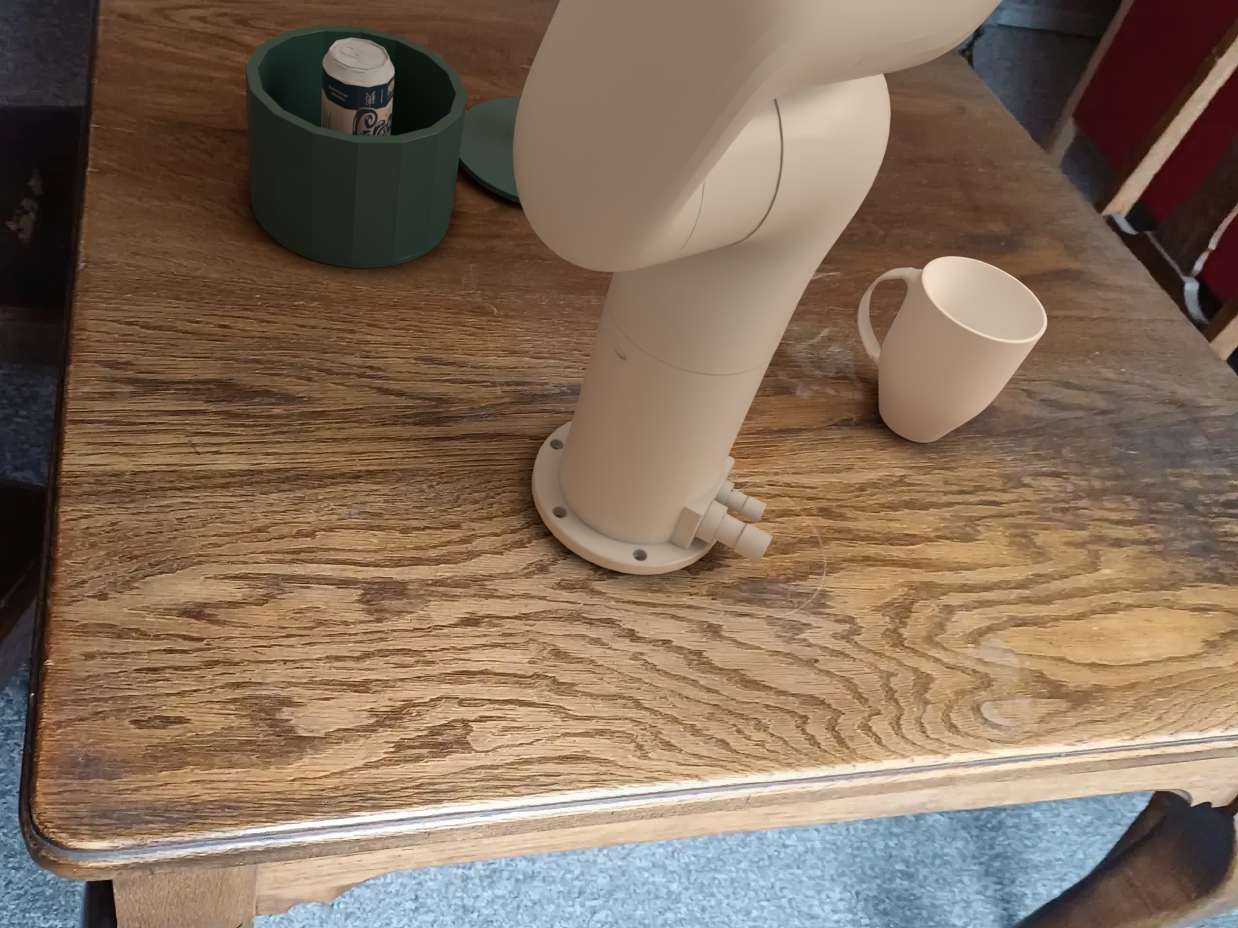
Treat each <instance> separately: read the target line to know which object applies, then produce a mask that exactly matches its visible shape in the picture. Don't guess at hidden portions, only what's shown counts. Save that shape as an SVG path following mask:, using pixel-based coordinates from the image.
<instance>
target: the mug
mask: <svg viewBox="0 0 1238 928" xmlns="http://www.w3.org/2000/svg"><path fill="white" fill-rule="evenodd" d="M899 279H902V280H903V281H904V282H905V284H906V286H907V287H906V288H907V291H906V294H905V297H904V300H903V302H902V304H901V306H900V308H899V310H898V311H897V313H896V314H897V315H896V316H895V318H894V320H893V322H892V323H891V326H890V327H889V329H888V332H887V334H886V335H885V338H884V340H883V343H882V345H880V343H879V341H878V340H877V337H876V335H875V333H874V330H873V327H872V323H871V320H870V302H871V296H872V293H873V292H874V289H875V288H876V286H877V285H878V284H879V283H880V282H882V281H886V280H899ZM858 306H859V307H858V309H857V330H858V335H859V338H860V341H861V343H862V346H863V348H864V350H865V353H866V354H867V357H868V358H869V359H870V360H872V361H873V362H874V364H875V365H876V366H877V368H878V369H877V370H878V371H877V374H878V412H879V415H880V417H881V419H882V421H883V422H884V423H885V425H886V426H887V427H888V428H889V429H890V430H891V431H893V432H894V433H895V434H896V435H899V437H902V438H904V439H906V440H909V441H911V442H915V443H923V444H928V443H929V444H930V443H933V442H935V441H938V440H939V439H941V438H942V437H944V436H945V435H947V434H949V433H950V432H952V431H953V430H955V429H957V428H959V427H960V426H962V425H964V424H966V423H967V422H968V421H970V420H972V419H973V418H975V417H977V416H978V415H979V414H981V413H982V412H983V411H984V410H985V409H987V408H988V406H989V405H990V404H991V403H992V402H993V401H994V400H995V399H996V397H998V395H999V394H1000V392H1001V391H1002V390H1003V389H1004V388H1005V386H1006V385H1007V384H1008V382H1009V381H1010V380H1011V378H1013V375H1014V374H1015V373H1016V372H1017V370H1018V369H1019V368H1020V366H1021V365H1022V363H1024V360H1025V359H1026V358H1027V357H1028V355H1029V353H1030V352H1032V350H1033V348H1034V347H1035V346H1036V344H1037V343H1038V341H1039V340H1040V339H1041V338H1042V336H1043V335H1044V333H1045V332H1046V330H1047V326H1048V317H1047V314H1046V310H1045V308H1044V306H1043V304H1042V303H1041V301H1040V300H1039V298H1038V297H1037V296H1036V295H1035V294H1034V293H1033V291H1032V290H1031V289H1030V288H1028V287H1027V286H1026V285H1025V284H1024V283H1022V282H1021V281H1020V280H1018V279H1017V278H1016V277H1014V276H1013V275H1011V274H1010V273H1008V272H1006V271H1004V270H1002V269H1000V268H998V267H997V266H994V265H992V264H990V263H987V262H985V261H982V260H978V259H974V258H971V257H965V256H956V255H955V256H954V255H953V256H952V255H949V256H942V257H941V256H940V257H938V258H934V259H933V260H931V261H929V262H928V263H927V264H926V265H925V266H924V267H923V268H914V267H912V266H910V267H897V268H893V269H889V270H888V271H885V272H884V273H883V274H881V275H880V276H879V277H878V278H876V279H875V280H874V281H873V282H872V283H871V284H870V285H869V287H868V288H867V289H866V291H865V292H864V294H863V295H862V296H861V299H860V302H859V305H858Z"/></svg>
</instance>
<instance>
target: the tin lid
mask: <svg viewBox="0 0 1238 928" xmlns="http://www.w3.org/2000/svg"><path fill="white" fill-rule="evenodd" d="M520 99H521V96H507V97H499V98H493V99H488V100H485V101H482V102H479V103H477V104H475V105H473V106H471V107H469V108H468V109H465V117H464V125H463V132H462V140H461V148H460V155H459V163H458V165H460V166H461V168H462V169H463V171H464V172H466V174H467V175H468V176H469V177H470V178H471V179H473V180H474V181H475V182H477V184H479V185H480V186H481V187H484V188H485V189H487V190H489V191H490V192H492V193H494V194H496V195H498V196H500V197H501V198H504V199H506V200H508V201H512V202H513V203H517V204H520V205H521V202H520V199H519V196H518V192H517V188H516V183H515V175H514V164H513V139H514V129H515V122H516V116H517V111H518V107H519V103H520Z"/></svg>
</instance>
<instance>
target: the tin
mask: <svg viewBox="0 0 1238 928" xmlns="http://www.w3.org/2000/svg"><path fill="white" fill-rule="evenodd" d="M347 38H358V39H364V40H370V41H372V42H374V43H376V44H378V45H380V46H382V47H384V48H385V50H386V52H387V54H388V56H389V58H390V61H391V63H392V65H393V67H394V71H395V76H394V90H393V103H392V117H391V130H390V136H381V135H352V134H348V133H343V132H339V131H335V130H330V129H326V128H321V110H322V62H323V58H324V57H325V55H326V54H327V53H328V51H329V48H330V47H331V46H332V45H333V44H334V42H335V41H337V40H342V39H347ZM244 68H245V71H244V72H245V73H244V74H245V94H246V95H245V96H246V97H245V99H246V100H245V101H246V122H247V123H246V124H247V126H246V127H247V150H248V151H247V152H248V153H247V154H248V177H249V182H248V183H249V193H250V197H251V207H252V211H253V214H254V216H255V219H256V220H257V222H258V224H259V225H260V226H261V228H262V229H263V230H264V232H266V234H268V235H269V236H270V237H271V239H273V240H274V241H276V242H277V243H278V244H279V245H281V246H282V247H284V248H286V249H288V250H289V251H291V252H293V253H295V254H297V255H299V256H302V257H304V258H307V259H309V260H311V261H315V262H318V263H323V264H327V265H331V266H335V267H336V266H337V267H343V268H351V269H379V268H386V267H387V268H388V267H392V266H393V267H394V266H397V265H402V264H405V263H409V262H411V261H413V260H416V259H418V258H420V257H422V256H424V255H426V254H428V253H429V252H430V251H432V250H433V249H434V248H436V247H437V245H439V244H440V242H441V241H443V238H444V237H445V236H446V234H447V232H448V229H449V226H450V222H451V221H450V220H451V217H452V213H453V210H454V209H453V208H454V200H455V193H456V185H457V179H458V172H459V171H458V170H459V155H460V148H461V140H462V132H463V125H464V117H465V111H466V110H467V101H468V94H467V91H466V89H465V86H464V83H463V81H462V79H461V77H460V75H459V72H458V71H457V70H456V69H454V67H452V66H451V65H450V64H448V63H447V62H446V60H444V59H443V58H442V57H440V56H439V55H438V54H437V53H436V52H435V51H433V50H432V49H430V48H428V47H425V46H423V45H420V44H418V43H416V42H415V41H412V40H410V39H408V38H406V37H404V36H401V35H397V34H393V33H389V32H387V31H386V32H385V31H381V30H377V29H373V28H368V27H366V26H352V25H330V24H328V25H325V24H318V25H311V26H306V27H299V28H294V29H289V30H284V31H282V32H280V33H278V34H277V35H275V36H273V37H271V38H269V39H267V40H265V41H264V42H262V43H260V44H259V45H257V46H256V48H255V49H254V51H253V53H252V54H251V56H250V58H249V59H248V61H247V63H246V64H245V67H244Z"/></svg>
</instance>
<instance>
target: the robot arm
mask: <svg viewBox="0 0 1238 928" xmlns="http://www.w3.org/2000/svg"><path fill="white" fill-rule="evenodd" d="M1002 2H1003V0H559V2H558V4H557V6H556V9H555V11H554V14H553V15H552V18H551V20H550V22H549V24H548V27H547V29H546V31H545V33H544V36H543V38H542V40H541V43H540V44H539V47H538V50H537V52H536V55H535V56H534V59H533V61H532V64H531V66H530V69H529V71H528V73H527V77H526V80H525V81H524V85H523V89H522V92H521V96H520V97H521V99H520V103H519V107H518V111H517V116H516V122H515V129H514V139H513V164H514V175H515V183H516V188H517V192H518V196H519V199H520V202H521V204H520V205H521V208H522V210H523V213H524V215H525V217H526V219H527V221H528V224H529V225H530V227H531V228H532V230H533V231H534V232H535V234H536V236H537V237H538V238H539V240H541V242H542V243H543V244H544V245H545V246H546V247H547V248H548V249H550V250H551V252H553V253H554V254H555V255H557V256H558V257H559V258H561V259H563V260H564V261H566V262H569V263H570V264H572V265H574V266H577V267H580V268H582V269H585V270H590V271H594V272H603V273H612V276H611V280H610V282H609V286H608V289H607V293H606V297H605V300H604V304H603V308H602V311H601V314H600V318H599V322H598V325H597V329H596V331H595V332H596V333H595V337H594V339H593V344H592V347H591V351H590V355H589V358H588V361H587V366H586V369H585V372H584V375H583V380H582V383H581V387H580V390H579V394H578V398H577V401H576V405H575V408H574V413H573V416H572V419H571V420H569V421H567V422H566V423H564V424H563V425H560V426H559V427H557V428H556V429H555V430H554V431H553V432H552V433H551V434H550V435H548V436H547V438H546V439H545V441H544V442H543V443H542V445H541V446H540V447H539V450H538V453H537V455H536V457H535V460H534V465H533V468H532V474H531V493H532V498H533V501H534V505H535V508H536V510H537V512H538V514H539V516H540V518H541V521H542V522H543V523H544V524H545V526H546V527H547V529H548V530H549V531H550V532H551V533H552V535H553V536H554V537H555V538H556V539H557V540H558V541H559V542H560V543H561V544H563V545H564V546H565V547H566V548H567V549H568V550H570V551H571V552H573V553H574V554H576V555H578V556H580V557H581V558H582V559H584V560H586V561H588V562H591V563H593V564H595V565H597V566H599V567H601V568H604V569H608V570H612V571H614V572H615V571H616V572H619V573H622V574H629V575H630V574H631V575H639V576H640V575H641V576H645V575H662V574H667V573H672V572H675V571H679V570H681V569H684V568H686V567H688V566H690V565H692V564H695V563H696V562H697V561H699V560H700V559H701V558H703V557H704V556H705V555H707V553H708V552H709V551H710V550H711V549H712V547H713V546H714V545H715V544H716V543H717V541H718V542H719V543H721V544H723V545H725V546H727V547H729V548H731V549H732V552H735V553H736V554H738V555H740V556H742V557H744V558H745V559H747V560H750V561H751V562H754V563H756V564H758V565H759V564H760V563H761V560H762V559H763V557H764V555H765V553H766V551H767V549H768V548H769V546H770V543H771V541H772V539H774V535H772V534H770V533H768V532H766V531H764V530H762V529H760V528H758V527H757V526H755V525H753V524H751V523H749V522H747V523H745V522H744V521H742V520H740V519H738V518H736V517H734V516H732V515H730V514H729V513H728V509H729V510H732V511H734V512H736V513H738V514H739V516H741V517H743V518H745V519H747V520H749V521H751V522H753V523H754V524H758V523H759V521H760V519H761V518H762V515H763V514H764V511H765V510H766V508H767V506H768V504H767V503H765V502H763V501H760V500H759V499H757V498H756V497H754V496H751V495H747V494H745V493H743V492H742V491H739V490H738V489H735V488H734V487H735V485H736V484H735V483H734V482H732V481H731V480H729V479H728V477H729V475H730V473H731V471H732V469H733V466H734V464H735V463H736V459H735V458H733V457H732V456H730V455H729V454H730V452H731V450H732V448H733V445H734V443H735V441H736V439H737V437H738V435H739V431H740V430H741V428H742V425H743V424H744V421H745V419H746V416H747V414H748V413H749V410H750V408H751V406H752V403H753V401H754V399H755V397H756V394H757V392H758V390H759V388H760V385H761V384H762V381H763V379H764V376H765V374H766V372H767V369H768V367H769V365H770V363H771V361H772V359H773V356H774V355H775V353H776V351H777V349H778V347H779V345H780V343H781V341H782V339H783V336H784V334H785V332H786V330H787V327H788V325H789V323H790V321H791V319H792V317H793V315H794V312H795V310H796V308H797V306H798V304H799V302H800V300H801V298H802V296H803V294H804V292H805V291H806V289H807V287H808V285H809V284H810V282H811V280H812V278H813V277H814V275H815V273H816V271H817V270H818V268H819V267H820V265H821V264H822V262H823V260H824V259H825V258H826V256H827V254H828V253H829V251H830V250H831V249H832V247H833V246H834V244H835V243H836V242H837V240H838V239H839V238H840V236H841V235H842V234H843V232H844V230H845V229H846V228H847V226H848V225H849V224H850V222H851V220H852V219H853V218H854V216H855V215H856V213H857V212H858V210H859V209H860V207H861V205H862V204H863V202H864V200H865V198H866V197H867V195H868V194H869V192H870V190H871V188H872V186H873V184H874V182H875V180H876V178H877V176H878V173H879V170H880V168H881V166H882V163H883V161H884V157H885V154H886V150H887V146H888V142H889V137H890V130H891V129H890V126H891V115H892V114H891V99H890V93H889V89H888V84H887V80H886V78H885V74H889V73H896V72H899V71H903V70H907V69H911V68H915V67H918V66H920V65H923V64H927V63H928V62H932V61H934V60H935V59H937V58H939V57H942V56H943V55H945V54H947V53H948V52H949V51H951V50H953V49H954V48H956V47H957V46H959V45H960V44H962V43H963V42H964V41H965V40H966V39H967V38H969V37H970V36H971V35H972V34H973V33H974V32H975V31H976V30H977V29H978V28H979V27H980V26H981V25H982V24H983V23H984V21H985V20H987V19H988V18H989V16H990V15H991V14H992V13H993V12H994V11H995V10H996V8H997V7H998V6H999V5H1000V4H1001V3H1002Z"/></svg>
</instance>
